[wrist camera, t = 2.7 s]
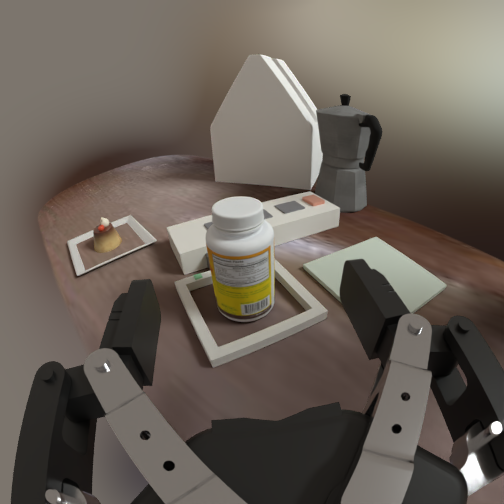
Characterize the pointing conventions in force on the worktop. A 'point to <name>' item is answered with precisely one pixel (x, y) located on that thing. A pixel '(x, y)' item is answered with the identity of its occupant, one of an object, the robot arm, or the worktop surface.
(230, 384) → the worktop surface
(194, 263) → the power strip
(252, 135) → the white slotted block
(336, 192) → the coffeepot
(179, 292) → the white square frame
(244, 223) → the supplement bottle
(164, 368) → the worktop surface
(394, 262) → the mat
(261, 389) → the worktop surface
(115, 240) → the dessert
